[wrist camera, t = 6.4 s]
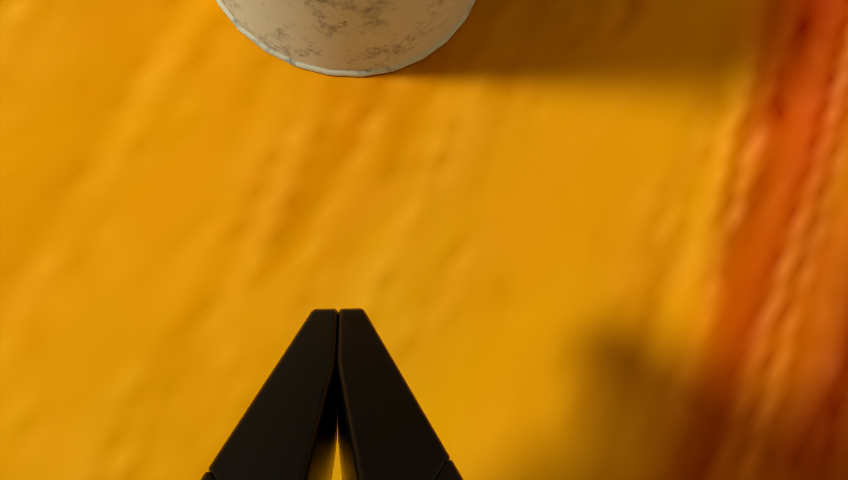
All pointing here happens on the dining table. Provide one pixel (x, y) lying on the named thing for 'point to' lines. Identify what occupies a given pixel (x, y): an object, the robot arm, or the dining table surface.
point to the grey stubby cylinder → (348, 31)
